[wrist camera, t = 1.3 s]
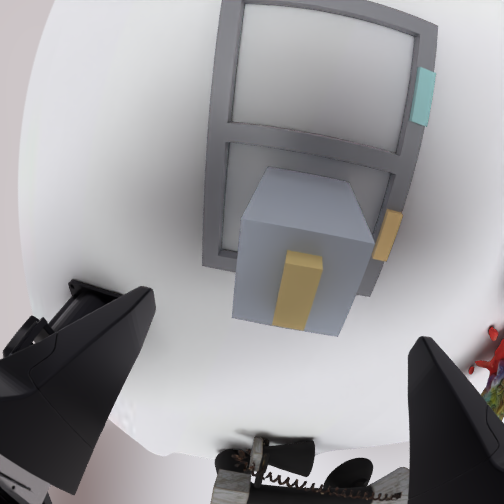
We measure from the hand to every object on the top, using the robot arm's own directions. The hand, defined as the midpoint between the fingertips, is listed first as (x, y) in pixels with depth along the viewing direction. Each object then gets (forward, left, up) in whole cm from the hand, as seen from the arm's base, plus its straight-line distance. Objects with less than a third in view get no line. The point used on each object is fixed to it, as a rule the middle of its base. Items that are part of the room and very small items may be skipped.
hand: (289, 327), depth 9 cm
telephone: (+11, -37, -9) cm, 40 cm away
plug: (0, 0, -9) cm, 9 cm away
